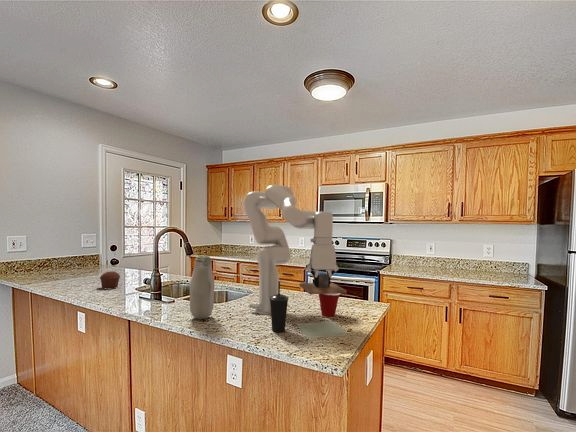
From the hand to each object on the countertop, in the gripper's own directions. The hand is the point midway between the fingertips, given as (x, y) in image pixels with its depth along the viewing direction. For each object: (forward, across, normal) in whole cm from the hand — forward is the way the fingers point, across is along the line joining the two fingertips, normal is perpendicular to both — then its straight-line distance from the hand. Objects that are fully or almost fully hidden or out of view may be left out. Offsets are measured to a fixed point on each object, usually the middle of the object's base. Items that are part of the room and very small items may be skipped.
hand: (322, 285), depth 122 cm
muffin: (+20, -110, +96) cm, 147 cm away
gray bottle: (+18, -48, +22) cm, 56 cm away
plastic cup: (+18, +9, +15) cm, 25 cm away
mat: (+17, -1, -2) cm, 18 cm away
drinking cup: (+18, -18, -1) cm, 25 cm away
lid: (+1, 0, 0) cm, 1 cm away
